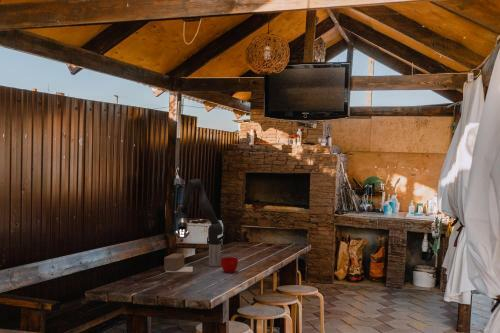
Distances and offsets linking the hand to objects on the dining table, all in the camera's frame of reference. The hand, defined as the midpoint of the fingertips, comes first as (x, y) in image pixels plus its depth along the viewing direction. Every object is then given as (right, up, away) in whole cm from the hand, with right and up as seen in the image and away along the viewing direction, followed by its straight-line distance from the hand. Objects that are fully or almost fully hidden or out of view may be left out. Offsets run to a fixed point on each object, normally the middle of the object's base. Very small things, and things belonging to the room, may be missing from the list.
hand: (181, 241), depth 418 cm
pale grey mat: (+2, -18, -27) cm, 33 cm away
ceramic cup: (+41, -18, -34) cm, 57 cm away
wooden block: (0, -12, -16) cm, 20 cm away
